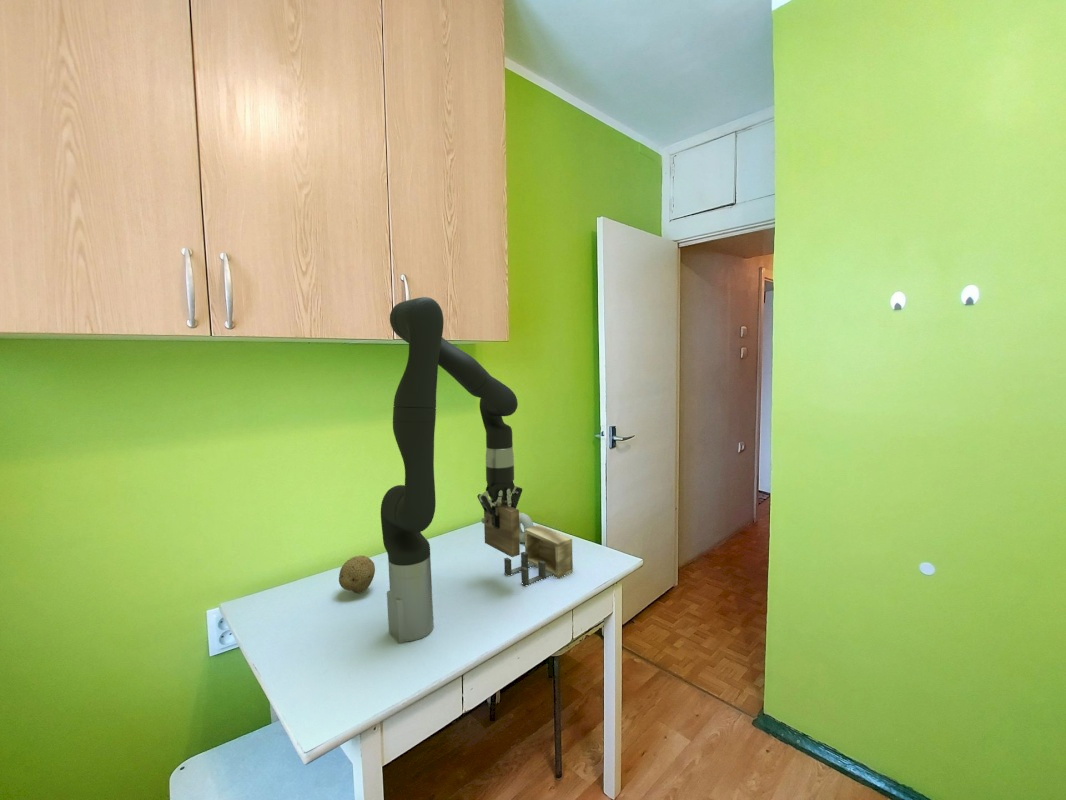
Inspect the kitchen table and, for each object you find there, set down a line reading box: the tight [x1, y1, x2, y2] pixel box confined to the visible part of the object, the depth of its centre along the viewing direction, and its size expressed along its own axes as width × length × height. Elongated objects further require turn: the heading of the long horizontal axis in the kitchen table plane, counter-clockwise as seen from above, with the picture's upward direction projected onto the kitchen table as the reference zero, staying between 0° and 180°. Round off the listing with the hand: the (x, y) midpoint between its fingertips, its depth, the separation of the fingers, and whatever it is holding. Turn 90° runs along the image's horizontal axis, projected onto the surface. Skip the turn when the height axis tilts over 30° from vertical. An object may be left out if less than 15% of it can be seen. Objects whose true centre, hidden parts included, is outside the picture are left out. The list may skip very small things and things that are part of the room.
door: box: [481, 499, 521, 558], centre depth 124 cm, size 4×13×12 cm, turn 39°
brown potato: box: [338, 555, 376, 594], centre depth 123 cm, size 9×9×10 cm
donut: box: [519, 512, 535, 544], centre depth 155 cm, size 10×4×10 cm, turn 45°
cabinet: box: [503, 524, 574, 586], centre depth 133 cm, size 15×15×10 cm
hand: (501, 526), depth 125 cm, fingers closed on door, 2 cm apart
